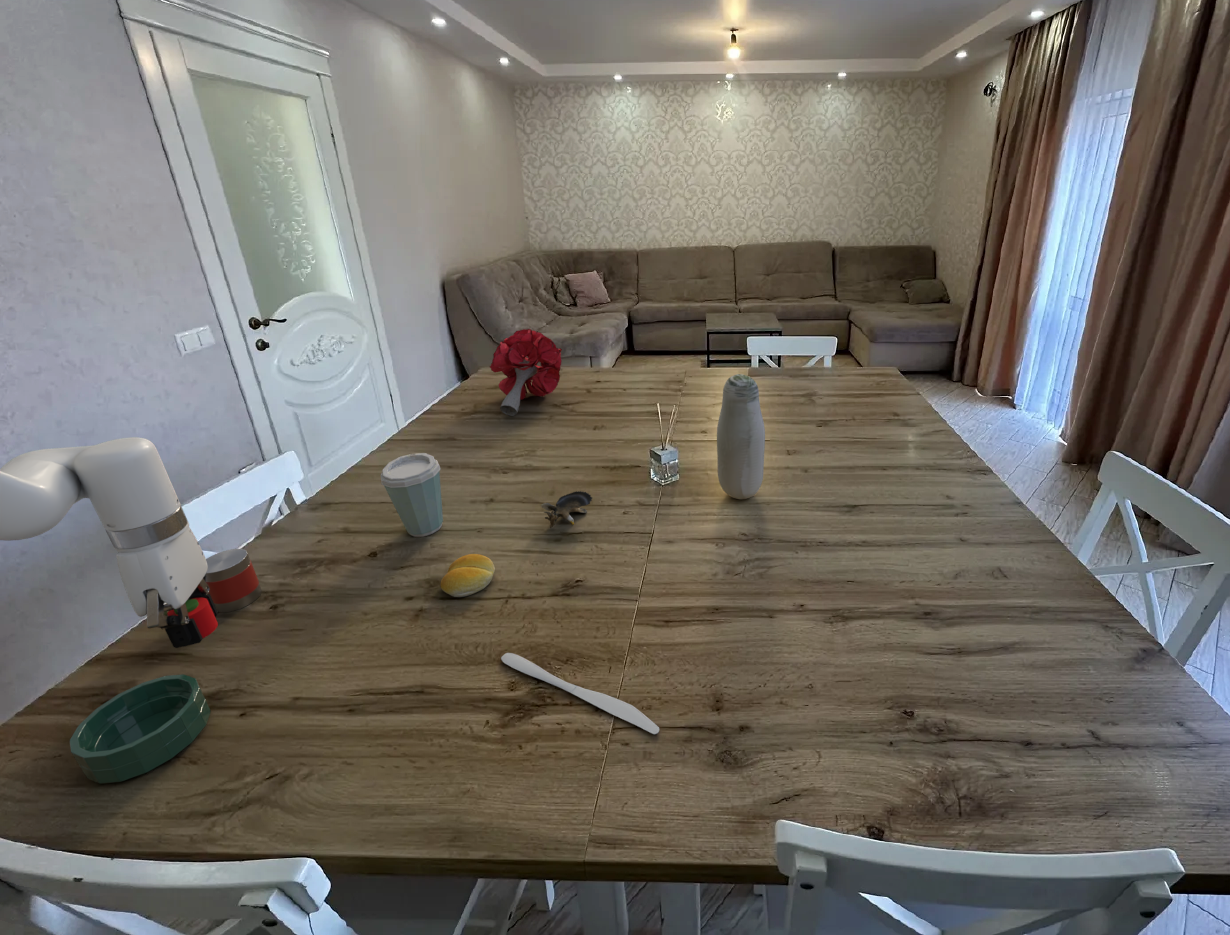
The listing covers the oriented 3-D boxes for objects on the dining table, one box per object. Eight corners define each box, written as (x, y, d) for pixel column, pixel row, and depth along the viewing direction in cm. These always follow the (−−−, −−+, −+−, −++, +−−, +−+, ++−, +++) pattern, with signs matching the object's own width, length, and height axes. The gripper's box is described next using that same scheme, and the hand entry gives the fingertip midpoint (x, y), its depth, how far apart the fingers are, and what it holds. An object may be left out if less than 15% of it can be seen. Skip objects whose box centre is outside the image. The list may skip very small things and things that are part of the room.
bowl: (64, 770, 66) (46, 741, 65) (173, 693, 77) (160, 666, 75) (127, 798, 63) (109, 768, 61) (232, 714, 73) (220, 686, 72)
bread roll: (435, 600, 93) (430, 581, 92) (456, 566, 102) (452, 548, 100) (484, 598, 94) (480, 579, 92) (501, 565, 102) (498, 547, 100)
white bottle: (771, 499, 122) (775, 379, 112) (730, 510, 118) (730, 387, 108) (749, 479, 131) (750, 366, 120) (710, 489, 126) (708, 373, 116)
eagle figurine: (567, 533, 109) (600, 506, 115) (546, 503, 108) (580, 478, 114) (552, 537, 115) (584, 511, 121) (532, 509, 114) (565, 485, 120)
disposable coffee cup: (448, 538, 110) (434, 472, 104) (388, 548, 107) (370, 480, 101) (455, 510, 119) (442, 448, 114) (400, 519, 116) (384, 455, 111)
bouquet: (556, 431, 174) (578, 362, 192) (526, 382, 156) (554, 310, 174) (493, 432, 177) (521, 364, 196) (457, 384, 159) (491, 314, 178)
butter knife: (513, 645, 83) (497, 658, 81) (666, 720, 71) (653, 738, 69) (513, 648, 83) (498, 661, 81) (666, 724, 72) (653, 742, 69)
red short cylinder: (169, 640, 80) (156, 612, 79) (204, 617, 84) (192, 591, 83) (191, 646, 79) (178, 619, 77) (225, 623, 83) (214, 597, 81)
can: (204, 608, 92) (186, 569, 89) (244, 583, 98) (229, 545, 95) (231, 616, 90) (215, 576, 87) (271, 590, 96) (257, 552, 93)
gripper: (146, 501, 81) (192, 600, 88) (72, 571, 66) (133, 683, 73) (209, 491, 84) (248, 588, 90) (151, 556, 69) (203, 666, 76)
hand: (196, 630), depth 82 cm, fingers closed on red short cylinder, 4 cm apart
